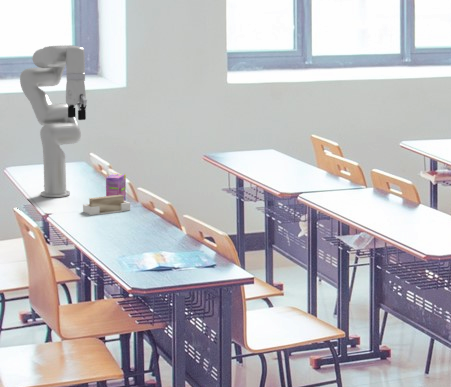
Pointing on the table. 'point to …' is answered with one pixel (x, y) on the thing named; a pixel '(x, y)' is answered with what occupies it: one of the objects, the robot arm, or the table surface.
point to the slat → (107, 203)
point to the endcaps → (96, 210)
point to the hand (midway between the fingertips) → (76, 118)
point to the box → (116, 185)
